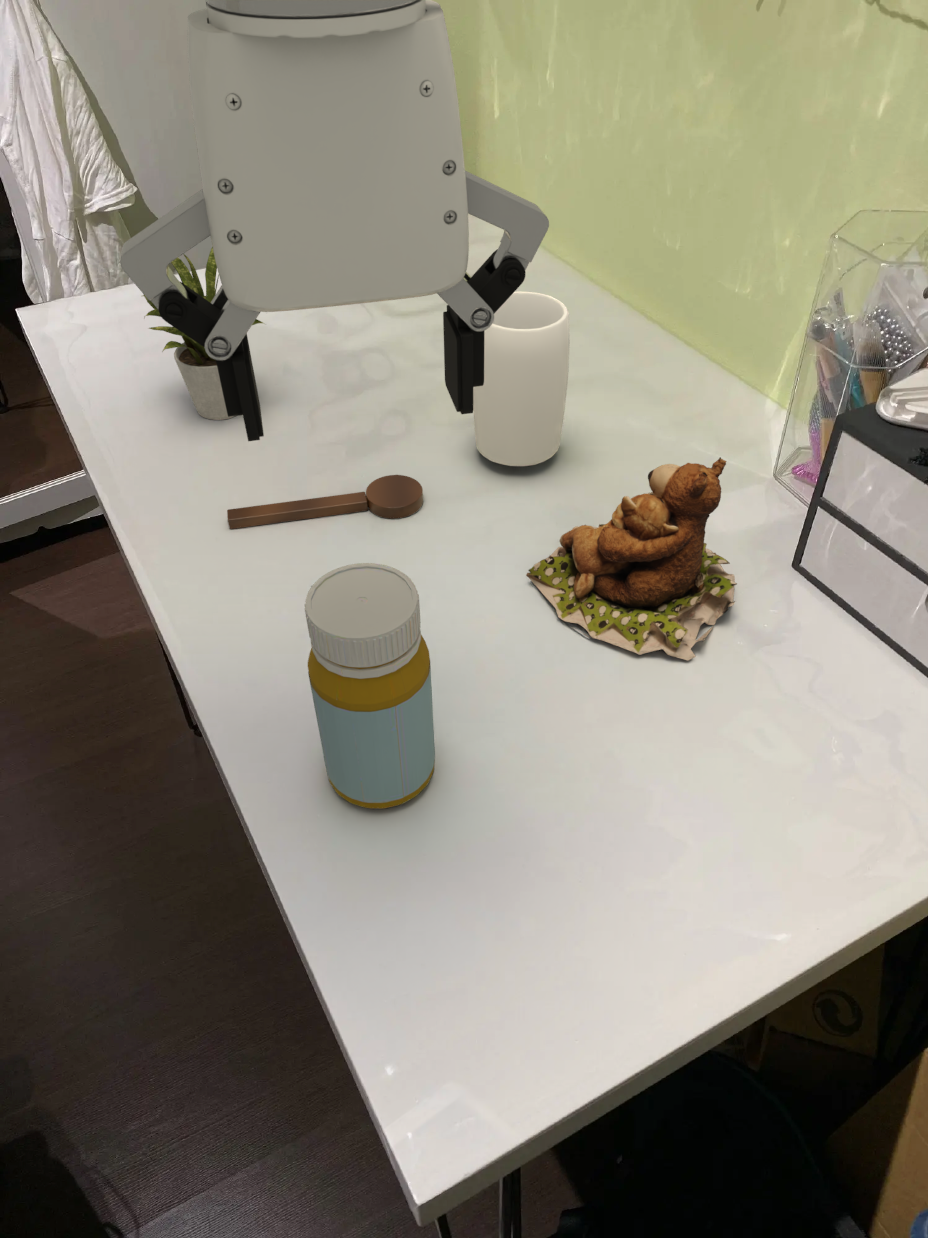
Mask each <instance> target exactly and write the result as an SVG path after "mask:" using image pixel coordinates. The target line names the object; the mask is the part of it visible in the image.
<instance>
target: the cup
mask: <svg viewBox="0 0 928 1238" xmlns="http://www.w3.org/2000/svg"><path fill="white" fill-rule="evenodd" d="M570 336H571V334H570V313H569V309H568V308H567V306H566V304H564V303H563V302H562V301H561V300H559V299H557V298H556V297H553V296H552V295H549V294H545V293H541V292H540V293H539V292H534V291H515V292H514V293H513V294H512V295H511V296H510V297H509V298H508V299H507V300H506V301H505V303H504V304H503V305H502V306H501V307H500V308H499V309H498V310H497V311H496V312H495V313H494V321H493V323H492V325H491V326H490V327H489V328H488V329H487V330H485V331H484V385H483V386H477V387H473V422H474V424H473V425H474V437H475V446H476V449H477V451H478V452H479V453H480V454H481V455H482V456H483V457H484V458H486V459H487V460H489V461H490V462H493V463H496V464H499V465H504V466H509V467H528V466H535V465H538V464H541V463H544V462H546V461H547V460H550V459H551V458H553V456H554V455H556V453H557V452H558V451H559V448H560V445H561V439H562V432H563V426H564V420H565V419H564V417H565V412H566V411H565V410H566V402H567V392H568V383H569V382H568V381H569V373H570V372H569V371H570V348H571V347H570V343H571V339H570Z"/></svg>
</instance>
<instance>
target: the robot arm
mask: <svg viewBox="0 0 928 1238" xmlns="http://www.w3.org/2000/svg"><path fill="white" fill-rule="evenodd" d="M187 63H188V78H189V79H188V80H189V93H190V94H189V95H190V103H191V113H192V121H193V122H192V123H193V129H194V136H195V143H196V144H195V145H196V151H197V157H198V158H197V159H198V167H199V173H200V181H201V186H202V188H201V189H200V190H199V191H197V192H196V193H194V194H193V195H192V196H190V197H188V198H186V199H185V200H184V201H183V202H181V203H180V204H178V205H177V206H176V207H174V208H172V209H171V210H170V211H168V212H167V213H165V214H164V215H162V216H161V217H159V218H158V219H156V220H155V221H154V222H152V223H151V224H150V225H148V226H146V227H145V228H144V229H142V230H141V231H139V232H138V233H136V234H135V235H133V236H132V237H130V238H129V239H127V240H126V241H125V242H124V243H123V244H122V247H121V252H120V259H119V263H120V267H121V269H122V270H123V272H124V273H125V274H126V275H127V277H128V278H129V279H130V280H131V281H132V283H134V285H135V287H137V288H138V290H139V291H140V292H141V293H142V294H144V295H145V296H146V298H147V299H148V300H149V301H151V302H152V303H153V304H154V305H155V307H156V308H157V309H158V310H159V314H160V316H161V317H160V318H161V319H162V320H163V321H164V322H166V323H167V324H168V325H170V326H171V327H175V328H176V329H178V330H179V331H181V332H182V333H184V334H185V335H187V336H188V337H190V338H191V339H193V340H194V341H196V342H197V343H199V344H200V345H202V346H203V347H205V351H206V353H207V354H208V356H210V357H211V358H212V359H215V360H216V363H217V368H218V373H219V377H220V382H221V387H222V391H223V396H224V401H225V405H226V410H227V414H228V417H231V416H235V417H237V416H238V417H239V416H243V422H244V427H245V432H246V437H247V442H254V441H260V440H261V437H262V438H263V437H264V436H265V433H264V427H263V417H262V410H261V403H260V398H259V392H258V386H257V380H256V375H255V370H254V366H253V365H254V364H253V360H252V354H251V349H250V342H249V337H248V332H249V330H250V329H251V327H252V326H253V325H252V324H253V323H254V321H255V320H256V319H257V318H258V317H259V315H260V314H261V313H275V312H289V311H301V310H310V309H320V308H321V309H322V308H332V307H341V306H350V305H359V304H368V303H379V302H388V301H396V300H397V301H398V300H405V299H412V298H414V299H415V298H421V297H426V296H432V295H436V294H437V295H438V296H439V297H440V299H441V300H443V301H444V303H446V311H443V313H442V324H443V325H442V326H443V327H442V328H443V359H444V360H443V363H444V383H445V387H446V390H447V392H448V394H449V396H450V399H451V401H452V403H453V406H454V409H455V411H456V413H460V415H470V414H474V409H473V387H477V386H483V385H484V331H485V330H487V329H488V328H489V327H490V326H491V325H492V323H493V321H494V313H495V312H496V311H497V310H498V309H499V308H500V307H501V306H502V305H503V304H504V303H505V301H506V300H507V299H508V298H509V297H510V296H511V295H512V294H513V293H514V292H517V291H518V289H519V288H520V287H521V285H522V284H523V283H524V281H525V279H526V270H527V268H528V266H529V265H530V263H532V262H533V259H534V258H535V256H536V254H537V252H538V250H539V248H540V246H541V244H542V241H543V240H544V238H545V236H546V234H547V233H548V230H549V228H550V220H549V218H548V216H547V215H546V214H545V212H543V210H542V209H541V208H540V206H538V205H537V204H536V203H534V202H532V201H529V200H528V199H526V198H524V197H521V196H519V195H518V194H515V193H514V192H511V191H509V190H507V189H505V188H502V187H500V186H499V185H497V184H494V183H492V182H490V181H488V180H486V179H485V178H481V177H480V176H477V175H475V174H474V173H471V172H469V171H467V170H466V166H465V154H464V145H463V143H464V142H463V134H462V123H461V114H460V103H459V96H458V89H457V80H456V74H455V68H454V67H455V66H454V62H453V56H452V49H451V44H450V39H449V33H448V28H447V24H446V19H445V15H444V11H443V8H442V7H441V4H440V3H439V2H437V1H435V0H205V8H202V9H198V10H195V11H193V12H191V13H189V14H188V16H187ZM469 215H470V216H473V217H474V218H477V219H479V220H482V221H484V222H486V223H488V224H491V225H493V226H495V227H497V228H498V229H501V230H503V234H502V237H501V239H500V241H499V242H500V244H499V246H498V247H497V249H496V250H494V251H492V253H491V255H489V257H488V258H487V259H486V260H485V261H484V262H483V263H482V264H481V266H480V267H479V268H478V269H477V270H476V271H475V272H474V273H473V274H472V275H470V274H469V273H468V272H467V269H468V265H469V254H470V253H469V252H470V228H469V227H470V226H469ZM209 237H210V243H211V248H212V247H213V252H214V256H215V261H216V265H217V272H218V275H219V280H220V284H221V285H220V287H219V289H218V290H217V291H216V295H215V297H214V298H213V300H212V301H211V303H210V302H209V301H207V300H206V299H205V298H203V297H202V296H200V295H199V294H197V293H196V292H195V291H193V290H192V289H190V288H189V287H188V286H186V285H185V284H183V283H182V281H180V280H179V278H178V277H177V276H176V275H175V272H174V271H173V270H172V269H171V267H170V266H169V265H170V264H172V263H171V262H172V261H173V260H175V259H176V258H180V257H181V256H182V255H183V254H185V253H187V252H188V251H189V250H191V249H192V248H194V247H196V246H197V245H198V244H200V243H202V242H203V241H205V240H206V239H208V238H209Z"/></svg>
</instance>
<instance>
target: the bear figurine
mask: <svg viewBox="0 0 928 1238" xmlns="http://www.w3.org/2000/svg"><path fill="white" fill-rule="evenodd" d="M726 466H727V460H724V459H723V458H722V457H719V458H718V459H717V460H716V461H715V462H713V463H712V465H711V467H707V466H706V465H704V464H700V463H696V462H695V463H692V462H686V463H685V464H683V465H678V464H674V463H665V464H661V465H659V466H658V467H655V468H653V469H652V470H650V471H649V472H648V475H647V480H648V485H649V486H648V487H649V488H650V492H648V493H642V494H637V495H635V496H633V497H630V496H628V495H625V496H623V497H622V498H621V502H620V503H619V504H618V505H617V506H616V508H615V510H614V511H613V512H612V515H611V518H610V520H609V521H608V522H606V523H599V524H598V526H594V525H587V524H584V525H583V524H582V525H579V526H578V525H577V526H574V527H572V529H570V530H569V531H567V532H565V533H564V534H562V535H561V536H560V538H559V544H560V546H558V547H557V548H556V549H555V550H554V551H553V552H552V553H551V554H549V556H548V557H546V558H543V559H541V560H540V561H538V562H537V563H535V564H534V565H533V566H532V567H531V568H529V569H528V572H526V574H525V577H526V578H528V580H530V582H531V583H532V584H533V585H534V586H535V587H536V588H537V589H538V590H539V592H541V594H542V595H543V596H544V597H545V598H546V599H547V601H548V602H549V603H550V604H551V605H552V606H553V608H555V612H556V615H557V618H559V619H560V620H562V621H563V622H565V623H571V624H578V625H579V626H580V627H582V628H583V629H585V630H586V631H587V632H588V635H587V634H585V633H583V632H581V631H580V630H579V629H577V628H575V627H574V628H575V629H576V630H577V631H579V632H580V633H581V634H583V635H584V636H585V637H587V638H589V639H591V638H592V639H596V640H599V641H603V642H606V643H608V644H611V645H613V646H616V647H619V648H621V649H624V650H627V651H630V652H632V653H635V654H637V655H639V656H641V655H644V654H647V653H648V654H649V653H651V652H656V651H659V650H660V651H661V650H663V651H664V652H665V654H666V655H668V656H671V657H673V658H677V659H681V660H684V661H687V662H688V661H690V660H692V659H694V658H697V655H695V653H694V651H692V648H693V647H694V646H695V644H696V643H699V642H704V641H705V640H706V638H708V635H709V634H710V633H711V631H712V629H713V628H714V626H715V625H716V623H717V620H718V619H719V618H720V617H722V616H723V615H724V614H725V613H727V612H728V610H729V608H730V607H733V606H734V605H735V603H736V600H734V596H735V586H736V585H738V583H737V582H736V577H735V574H733V573H728V572H726V571H725V569H724V568H723V566H722V565H730V564H731V563H730V562H729V561H728V560H727V559H726V558H724V557H723V556H720V555H719V554H717V553H716V552H714V551H713V550H712V549H709V548H707V545H708V543H707V542H705V537H706V526H707V522H708V519H709V518H710V517H711V516H710V515H711V514H712V513H714V511H715V510H716V509H717V508H718V507H719V505H720V502H721V498H722V487H721V483H720V482H721V481H720V480H721V479H719V477H720V476H721V475H723V471H724V469H725V467H726ZM704 623H705V624H706V625H709V626H712V627H710V628H709V629H708V630H707V631H705V633H703V634H702V635H701V636H700V637H699V638H697V637H698V634H699V631H700V629H701V626H702V625H703V624H704Z"/></svg>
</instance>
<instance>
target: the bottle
mask: <svg viewBox="0 0 928 1238" xmlns="http://www.w3.org/2000/svg"><path fill="white" fill-rule="evenodd" d="M419 595H420V594H419V593H418V589H417V587H416V585H415V583H414V582H413V580H412V579H411V578H410V577H409V576H408V575H407V574H405V572H403V571H401V570H400V569H397V568H395V567H393V566H390V565H387V564H382V563H375V562H361V563H359V562H358V563H352V564H351V563H350V564H347V565H343V566H340V567H337V568H335V569H332V570H330V571H328V572H327V573H325V574H323V575H322V576H320V577H319V578H318V579H317V580H316V581H315V582H313V584H312V585H311V586H310V588H309V589H308V591H307V594H306V597H305V601H304V602H305V603H304V615H305V619H306V625H307V632H308V636H309V639H310V646H311V647H310V651H309V654H308V660H307V670H308V672H307V673H308V679H309V684H310V689H311V695H312V701H313V707H314V711H315V717H316V723H317V727H318V733H319V737H320V738H319V739H320V744H321V750H322V754H323V760H324V765H325V769H326V775H327V778H328V782H329V784H330V786H331V787H332V789H333V790H334V791H335V793H336V794H337V795H338V796H339V797H341V798H342V799H343V800H345V801H346V802H348V803H350V804H352V805H355V806H358V807H362V808H365V809H389V808H393V807H396V806H400V805H403V804H405V803H407V802H408V801H411V800H412V799H414V798H416V797H417V796H418V795H420V793H421V792H423V790H424V789H425V788H426V787H427V786H428V785H429V783H430V781H431V778H432V777H433V774H434V772H435V763H436V762H435V761H436V759H435V758H436V750H435V749H436V748H435V745H436V744H435V730H434V729H435V728H434V708H433V689H432V669H431V657H430V649H429V648H428V645H427V642H426V641H425V639H424V636H423V635H422V633H421V607H420V596H419Z"/></svg>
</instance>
